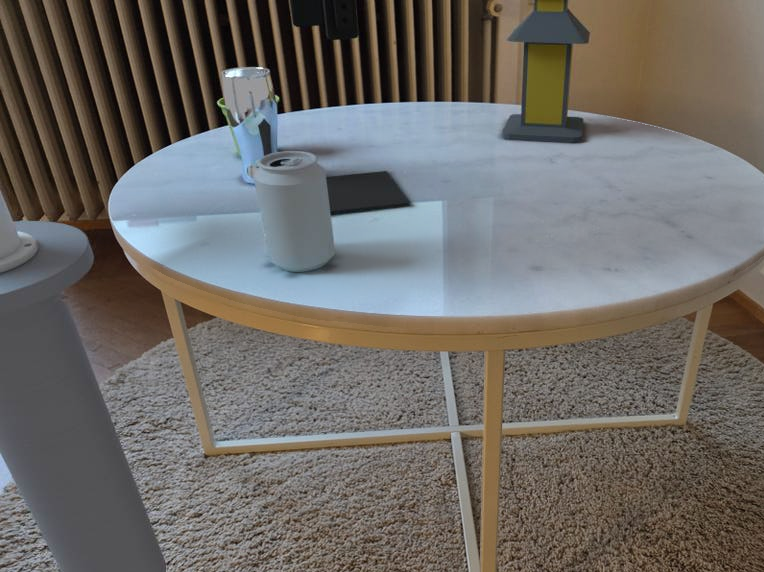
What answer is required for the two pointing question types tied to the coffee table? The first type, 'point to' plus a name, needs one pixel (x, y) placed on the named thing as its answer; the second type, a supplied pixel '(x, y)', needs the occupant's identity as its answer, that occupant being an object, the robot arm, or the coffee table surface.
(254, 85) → the beer glass
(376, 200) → the mat
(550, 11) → the lantern
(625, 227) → the coffee table surface
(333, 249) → the can
